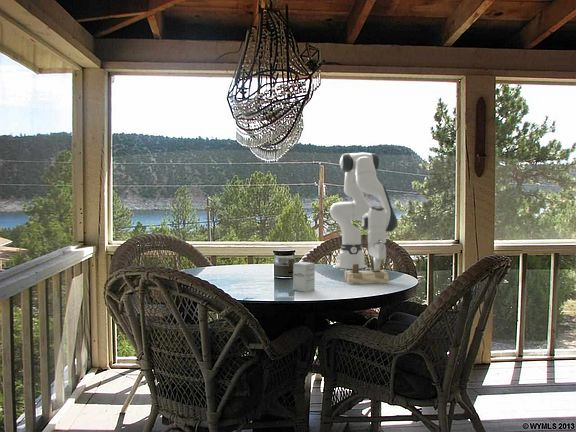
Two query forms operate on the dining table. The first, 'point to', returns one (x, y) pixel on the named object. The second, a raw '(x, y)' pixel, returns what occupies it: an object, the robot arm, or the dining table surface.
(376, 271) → the steel peg
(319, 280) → the dining table surface
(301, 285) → the supplement box
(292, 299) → the dining table surface
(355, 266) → the walnut peg
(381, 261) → the condiment
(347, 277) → the hole block
